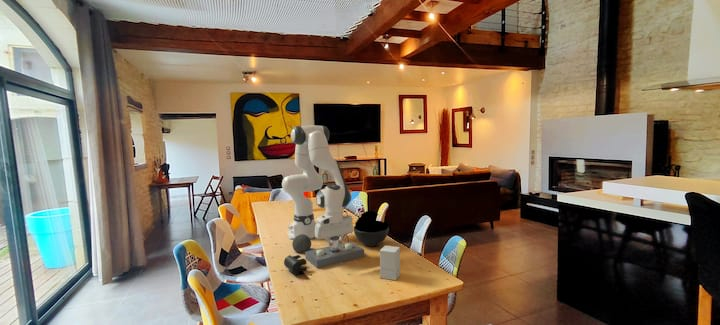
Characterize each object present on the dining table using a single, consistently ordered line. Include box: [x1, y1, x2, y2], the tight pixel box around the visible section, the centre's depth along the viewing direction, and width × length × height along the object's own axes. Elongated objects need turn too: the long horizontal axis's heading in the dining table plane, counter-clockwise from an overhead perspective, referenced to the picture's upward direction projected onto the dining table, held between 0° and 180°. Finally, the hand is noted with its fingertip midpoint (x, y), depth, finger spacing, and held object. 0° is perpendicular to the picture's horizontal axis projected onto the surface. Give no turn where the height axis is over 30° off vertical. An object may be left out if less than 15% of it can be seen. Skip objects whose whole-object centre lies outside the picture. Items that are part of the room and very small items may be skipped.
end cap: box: [283, 254, 308, 277], centre depth 151 cm, size 10×7×7 cm
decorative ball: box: [292, 234, 312, 254], centre depth 175 cm, size 10×10×10 cm
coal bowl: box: [353, 210, 390, 247], centre depth 186 cm, size 20×20×19 cm
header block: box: [304, 241, 365, 269], centre depth 165 cm, size 14×26×6 cm, turn 122°
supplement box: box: [379, 245, 401, 281], centre depth 145 cm, size 7×7×13 cm
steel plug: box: [329, 235, 340, 253], centre depth 164 cm, size 4×4×11 cm
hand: (334, 244), depth 164 cm, fingers open, 4 cm apart
